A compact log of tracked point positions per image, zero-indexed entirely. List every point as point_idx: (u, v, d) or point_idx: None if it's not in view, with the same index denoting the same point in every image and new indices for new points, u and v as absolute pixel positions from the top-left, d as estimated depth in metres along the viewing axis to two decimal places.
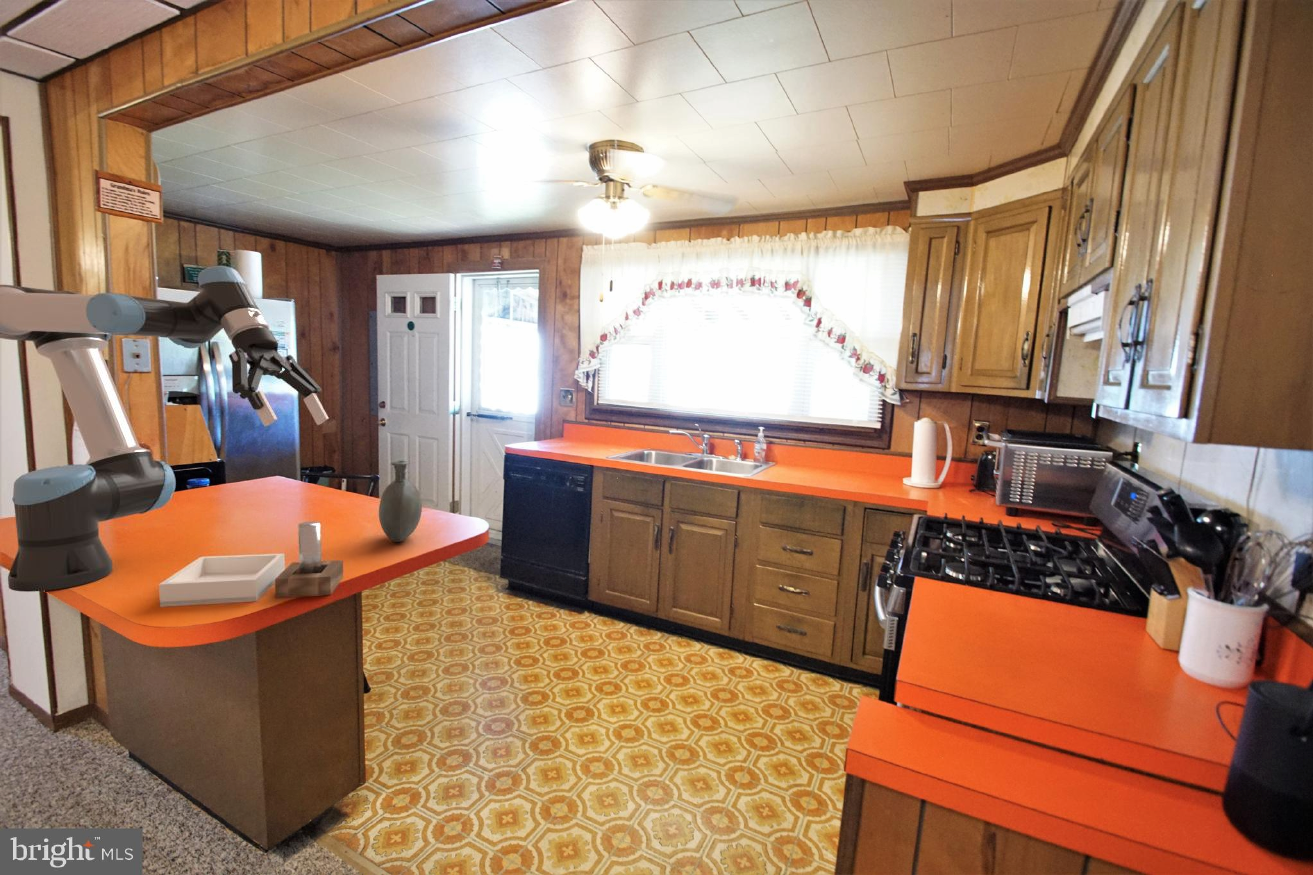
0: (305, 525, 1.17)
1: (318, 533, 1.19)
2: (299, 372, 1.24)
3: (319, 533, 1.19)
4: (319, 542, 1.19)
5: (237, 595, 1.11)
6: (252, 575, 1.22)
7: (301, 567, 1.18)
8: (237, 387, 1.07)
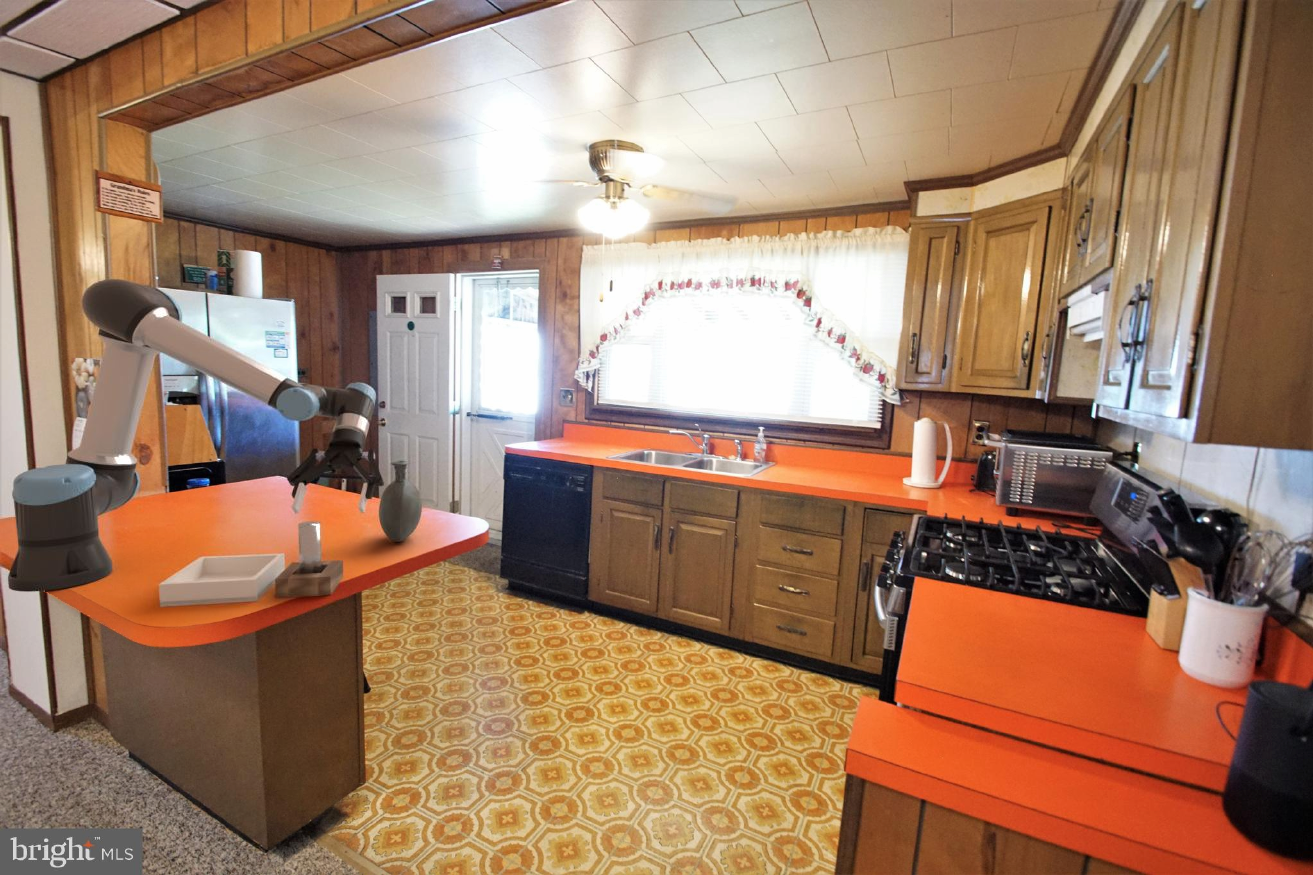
0: (305, 525, 1.17)
1: (318, 533, 1.19)
2: (311, 468, 1.34)
3: (319, 533, 1.19)
4: (319, 542, 1.19)
5: (237, 595, 1.11)
6: (252, 575, 1.22)
7: (301, 567, 1.18)
8: None
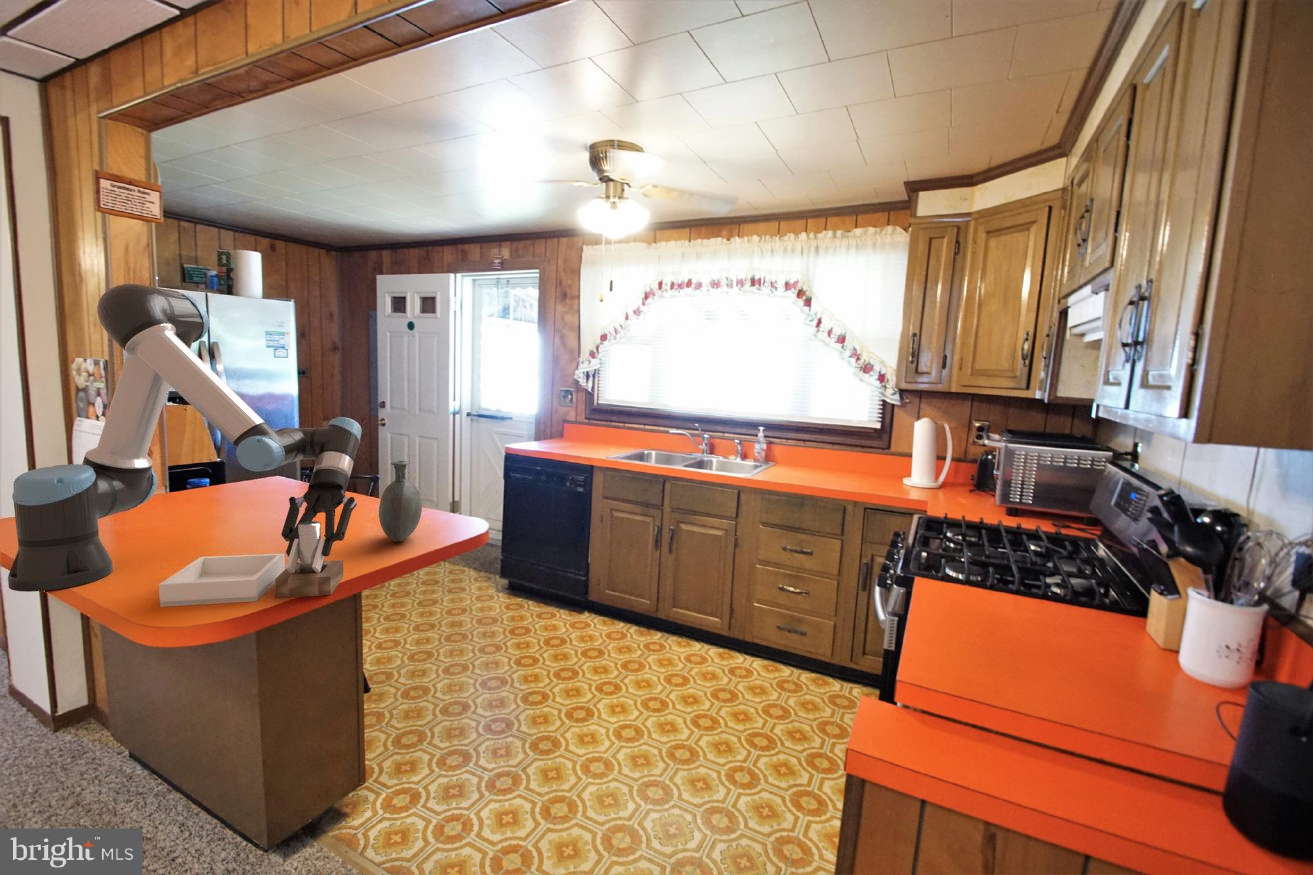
0: (305, 525, 1.17)
1: (318, 533, 1.19)
2: (297, 517, 1.23)
3: (319, 533, 1.19)
4: None
5: (237, 595, 1.11)
6: (252, 575, 1.22)
7: (301, 567, 1.18)
8: (341, 536, 1.22)
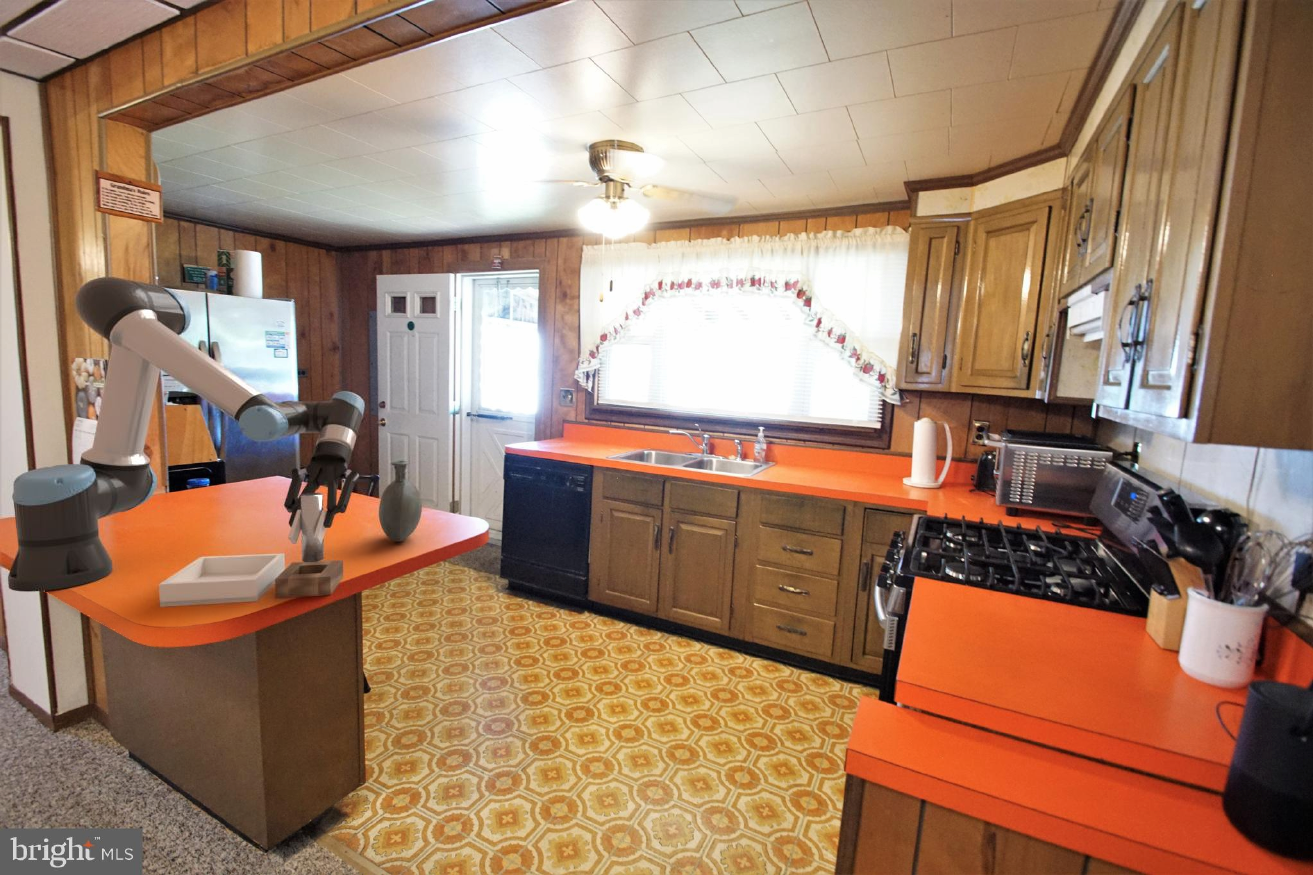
0: (308, 496, 1.17)
1: (321, 504, 1.18)
2: (299, 489, 1.23)
3: (322, 504, 1.18)
4: None
5: (237, 595, 1.11)
6: (252, 575, 1.22)
7: (303, 538, 1.17)
8: (343, 509, 1.21)
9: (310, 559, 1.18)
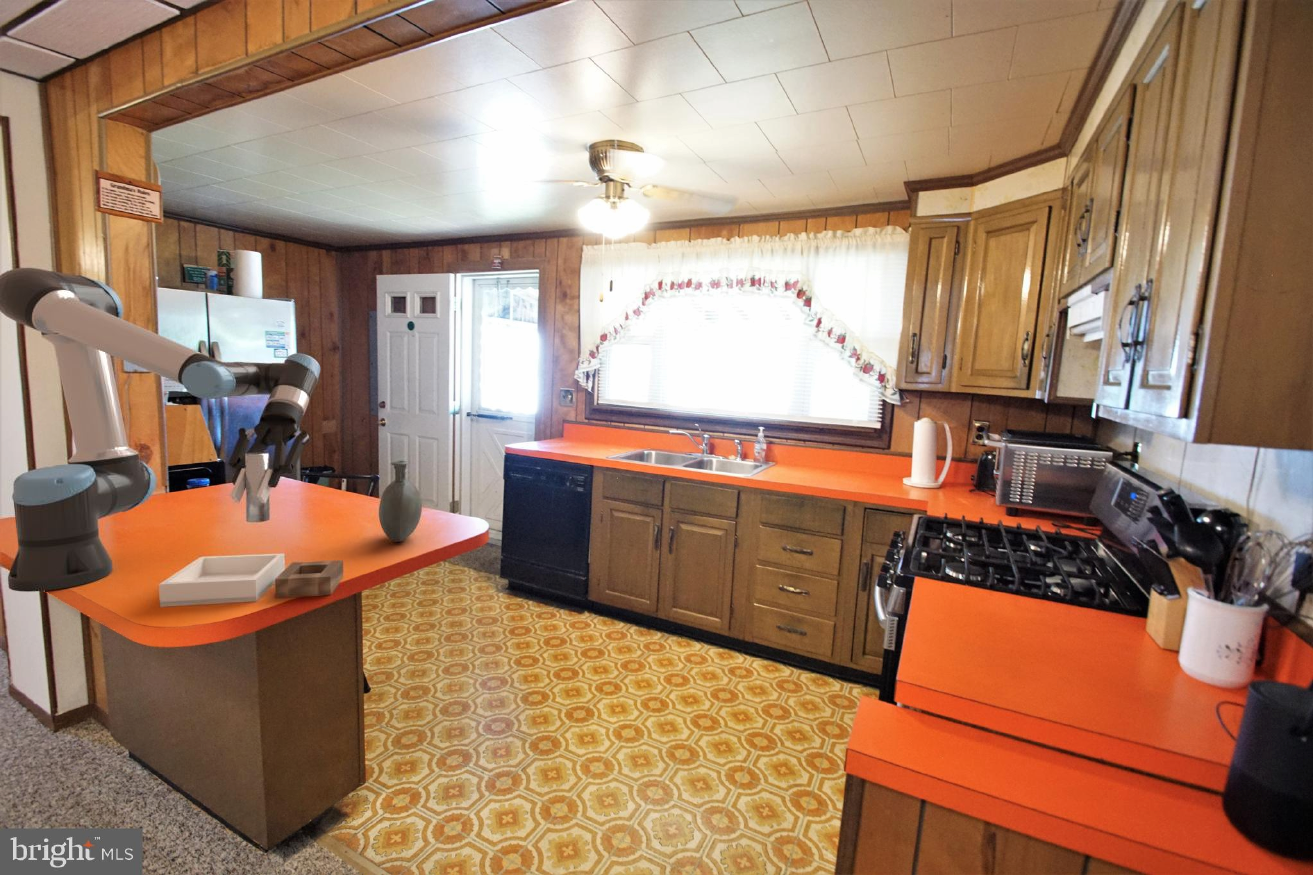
0: (252, 454, 1.14)
1: (266, 463, 1.15)
2: (246, 449, 1.20)
3: (267, 464, 1.16)
4: None
5: (237, 595, 1.11)
6: (252, 575, 1.22)
7: (248, 497, 1.14)
8: (290, 469, 1.18)
9: (254, 519, 1.15)
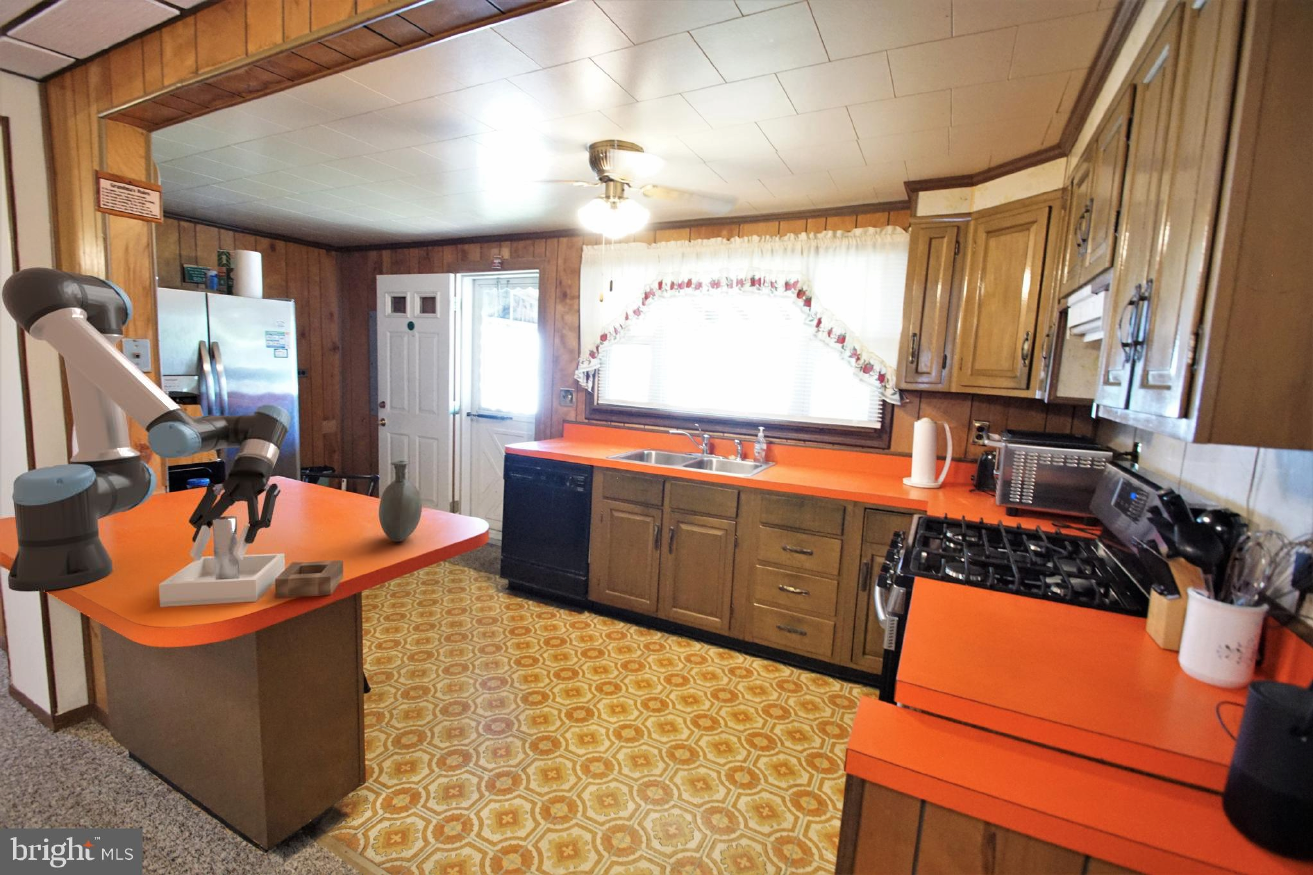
0: (219, 520, 1.15)
1: (234, 528, 1.16)
2: (212, 504, 1.21)
3: (235, 528, 1.16)
4: (235, 537, 1.16)
5: (237, 595, 1.11)
6: (252, 575, 1.22)
7: (216, 563, 1.15)
8: (267, 523, 1.19)
9: None
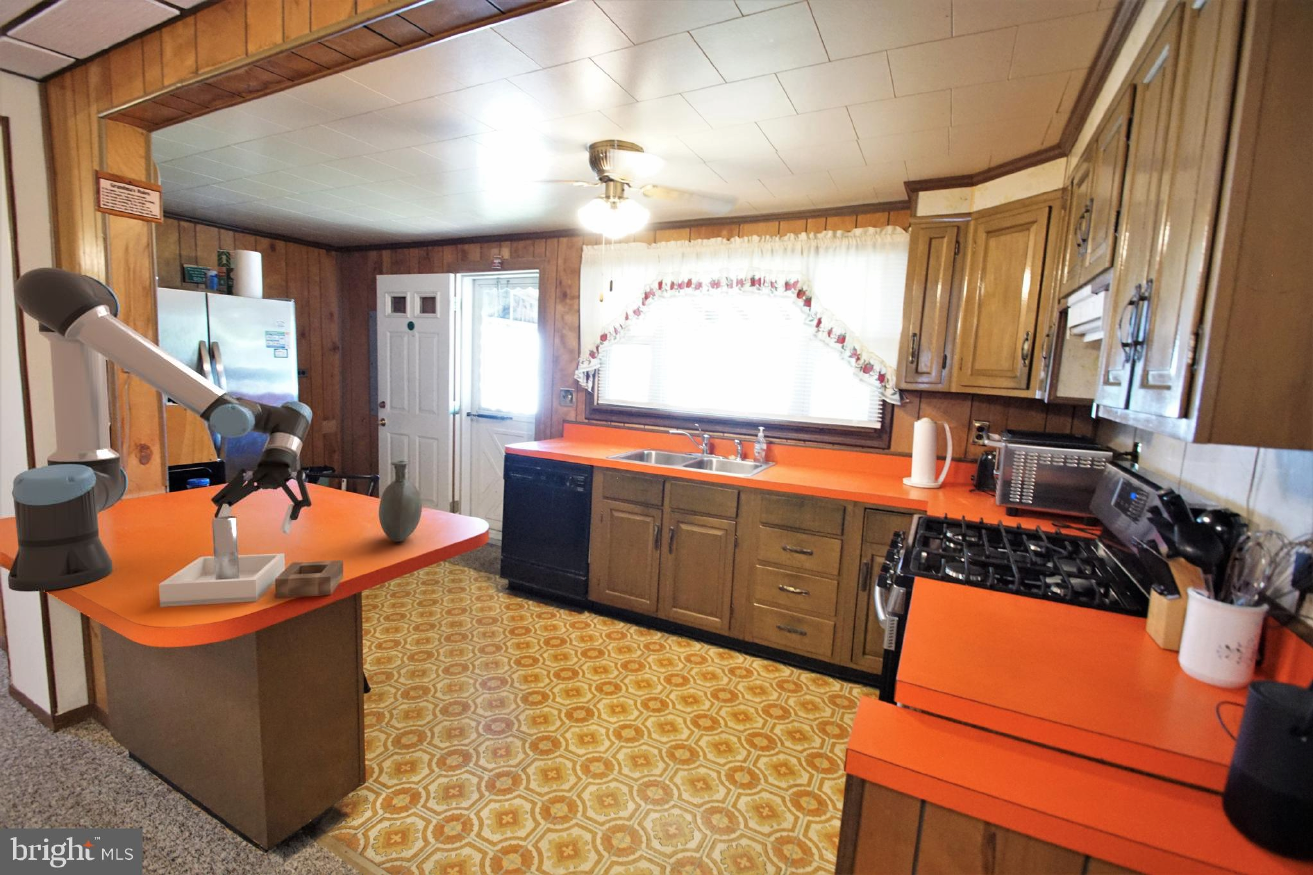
0: (219, 520, 1.15)
1: (233, 528, 1.16)
2: (238, 488, 1.33)
3: (235, 528, 1.16)
4: (235, 537, 1.16)
5: (237, 595, 1.11)
6: (252, 575, 1.22)
7: (216, 563, 1.15)
8: (309, 502, 1.33)
9: None
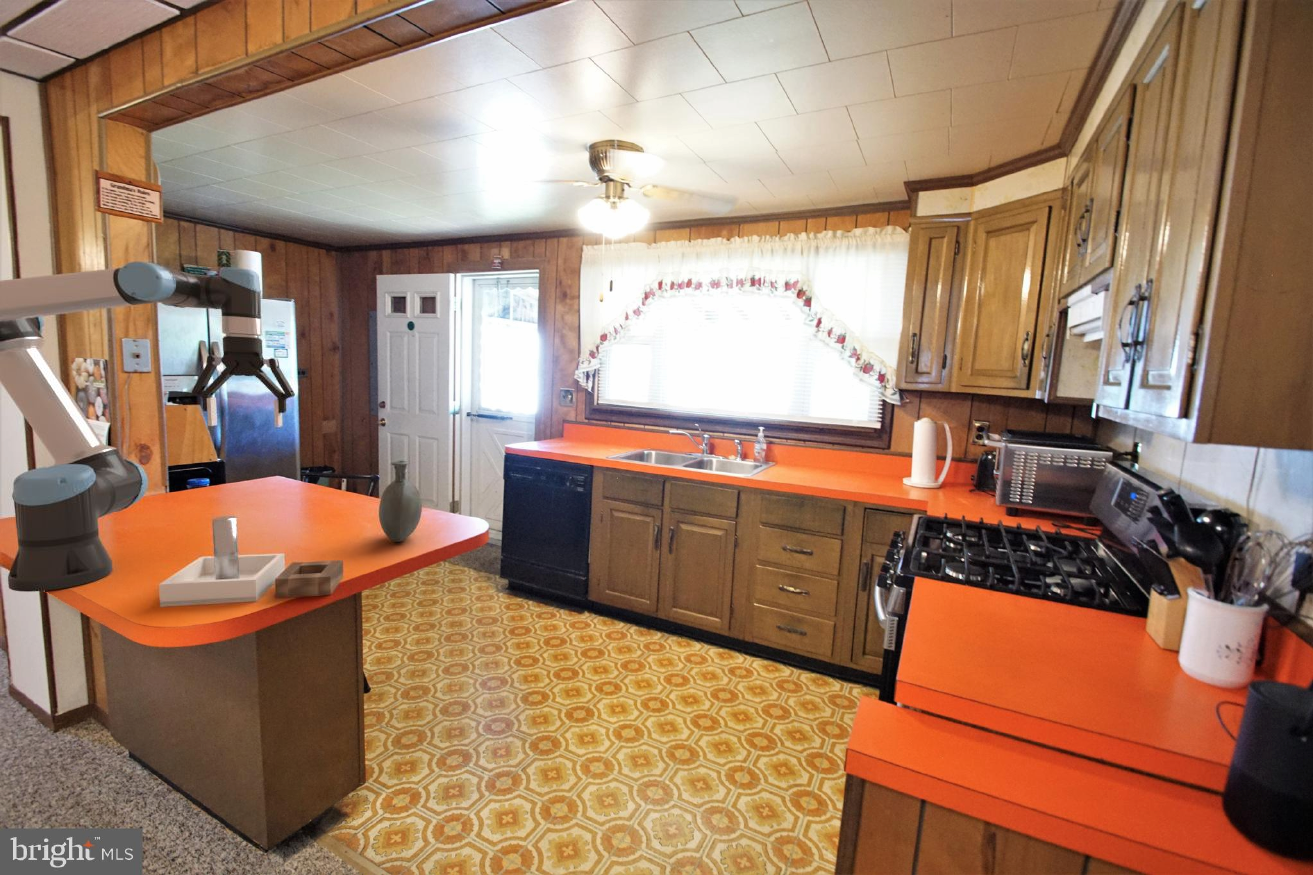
0: (219, 520, 1.15)
1: (233, 528, 1.16)
2: (212, 374, 1.32)
3: (235, 528, 1.16)
4: (235, 537, 1.16)
5: (237, 595, 1.11)
6: (252, 575, 1.22)
7: (216, 563, 1.15)
8: (293, 394, 1.37)
9: None
